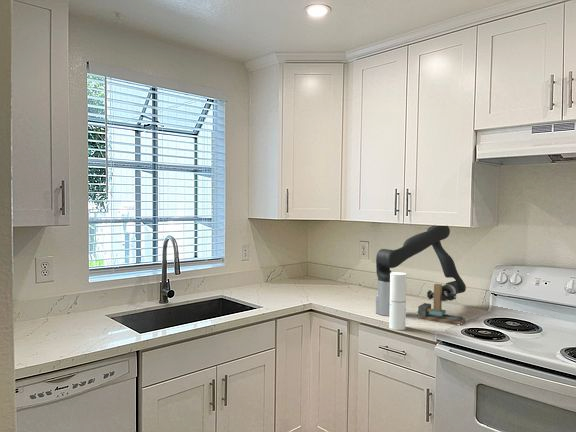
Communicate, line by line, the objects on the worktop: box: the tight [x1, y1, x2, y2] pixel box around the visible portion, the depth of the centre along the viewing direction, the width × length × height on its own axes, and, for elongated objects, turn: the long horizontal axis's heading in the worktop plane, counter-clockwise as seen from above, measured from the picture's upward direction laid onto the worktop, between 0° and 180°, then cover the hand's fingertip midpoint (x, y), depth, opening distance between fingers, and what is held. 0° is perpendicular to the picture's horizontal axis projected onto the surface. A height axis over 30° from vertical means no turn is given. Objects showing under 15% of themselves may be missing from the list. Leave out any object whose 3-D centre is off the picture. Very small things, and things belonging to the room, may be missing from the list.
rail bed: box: [417, 302, 466, 326], centre depth 209 cm, size 20×9×6 cm, turn 53°
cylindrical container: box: [388, 271, 407, 331], centre depth 195 cm, size 7×7×25 cm
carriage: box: [429, 283, 447, 316], centre depth 210 cm, size 6×7×14 cm
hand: (436, 298), depth 208 cm, fingers open, 5 cm apart
